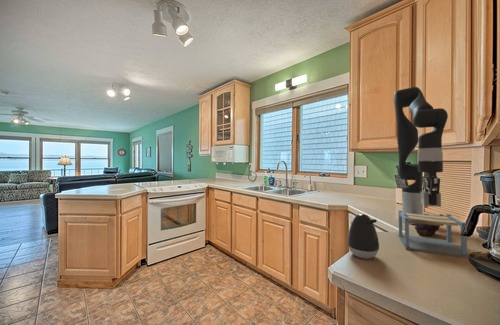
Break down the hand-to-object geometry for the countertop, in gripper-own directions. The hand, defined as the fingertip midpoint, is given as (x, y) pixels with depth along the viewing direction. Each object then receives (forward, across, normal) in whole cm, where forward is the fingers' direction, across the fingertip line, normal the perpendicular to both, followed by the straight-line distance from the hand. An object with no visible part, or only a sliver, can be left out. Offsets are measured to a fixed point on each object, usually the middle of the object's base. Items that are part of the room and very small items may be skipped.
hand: (430, 203), depth 84 cm
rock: (+18, -22, +4) cm, 29 cm away
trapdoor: (+10, -4, 0) cm, 11 cm away
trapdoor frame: (+18, -4, 0) cm, 18 cm away
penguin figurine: (+18, +19, -24) cm, 35 cm away
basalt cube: (+1, 0, 0) cm, 1 cm away
